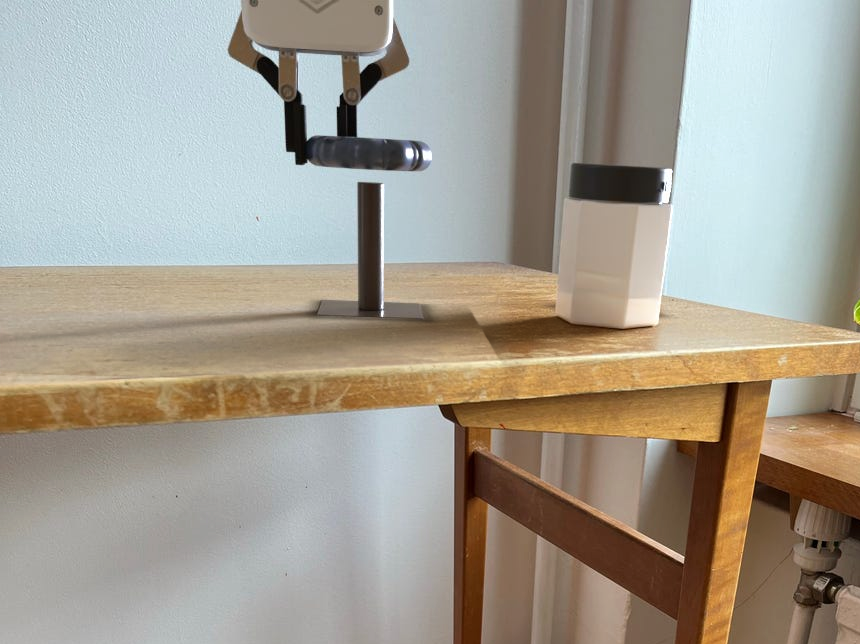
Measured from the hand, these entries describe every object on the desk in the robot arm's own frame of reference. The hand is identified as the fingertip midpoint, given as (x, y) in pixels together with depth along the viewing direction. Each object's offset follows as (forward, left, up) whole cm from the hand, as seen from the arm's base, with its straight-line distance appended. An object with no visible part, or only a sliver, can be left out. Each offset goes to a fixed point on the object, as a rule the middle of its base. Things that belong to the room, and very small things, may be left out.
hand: (322, 163), depth 72 cm
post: (+3, 0, -11) cm, 12 cm away
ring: (+3, 0, +1) cm, 4 cm away
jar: (+24, +5, -11) cm, 27 cm away
